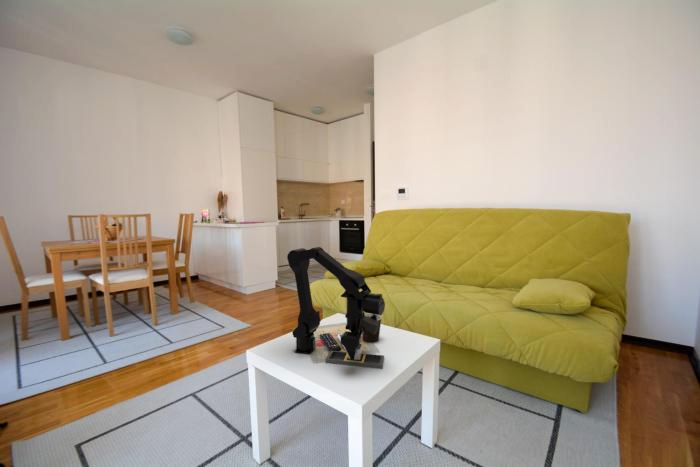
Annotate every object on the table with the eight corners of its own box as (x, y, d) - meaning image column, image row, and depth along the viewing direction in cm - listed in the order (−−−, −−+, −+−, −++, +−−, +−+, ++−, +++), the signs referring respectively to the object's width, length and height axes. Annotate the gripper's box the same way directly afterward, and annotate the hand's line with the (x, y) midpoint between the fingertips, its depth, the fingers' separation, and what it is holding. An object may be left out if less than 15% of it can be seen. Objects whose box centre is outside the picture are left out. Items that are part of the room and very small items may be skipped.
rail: (325, 364, 104) (325, 358, 104) (330, 355, 110) (330, 350, 110) (382, 370, 100) (382, 364, 100) (384, 360, 106) (384, 355, 106)
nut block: (348, 363, 103) (348, 347, 103) (350, 357, 108) (350, 342, 107) (360, 364, 103) (359, 348, 102) (362, 358, 107) (362, 343, 106)
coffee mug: (380, 346, 117) (380, 321, 117) (358, 344, 119) (358, 320, 118) (382, 334, 129) (382, 311, 128) (363, 332, 131) (363, 310, 130)
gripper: (374, 321, 93) (374, 369, 94) (380, 303, 111) (380, 343, 112) (339, 319, 95) (340, 365, 96) (351, 301, 113) (351, 340, 115)
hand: (355, 353), depth 105 cm, fingers open, 9 cm apart
